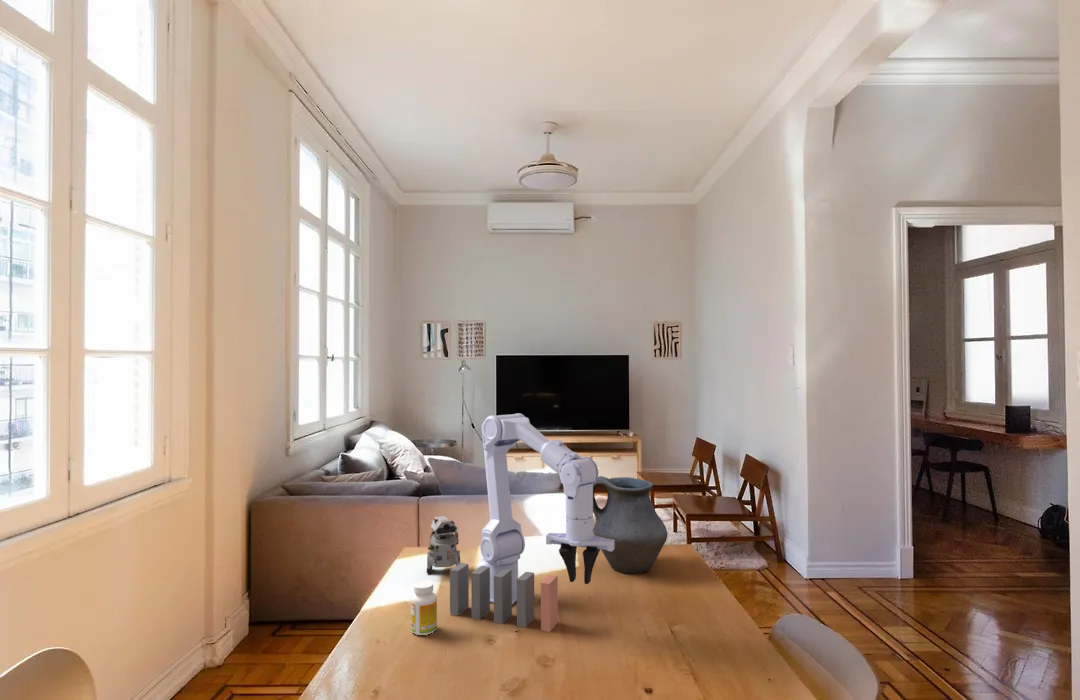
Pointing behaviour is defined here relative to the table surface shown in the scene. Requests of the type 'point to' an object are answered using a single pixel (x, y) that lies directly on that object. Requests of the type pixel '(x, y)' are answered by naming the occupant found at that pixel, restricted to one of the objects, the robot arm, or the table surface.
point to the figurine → (443, 544)
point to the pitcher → (629, 524)
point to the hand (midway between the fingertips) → (580, 581)
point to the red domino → (549, 603)
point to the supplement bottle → (423, 609)
